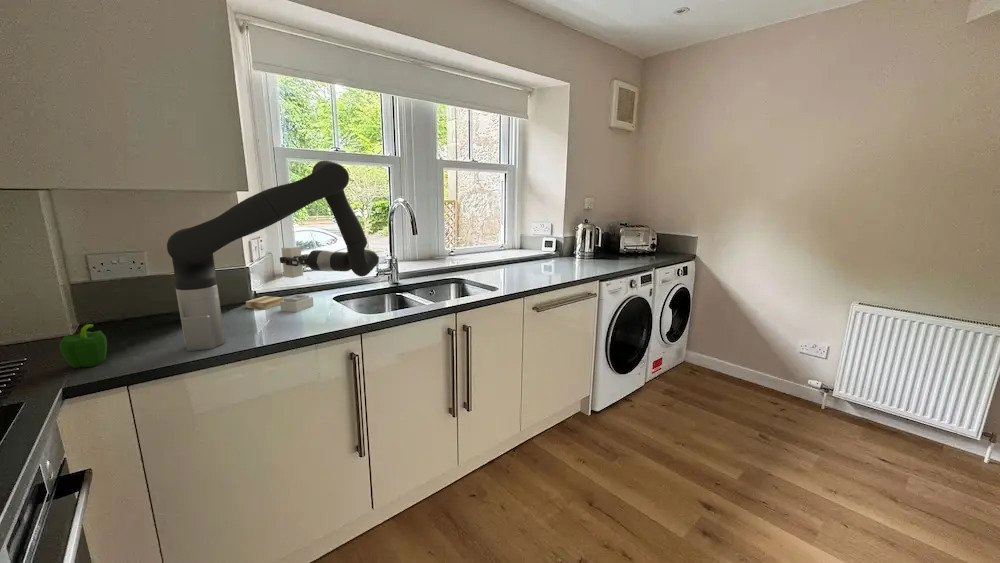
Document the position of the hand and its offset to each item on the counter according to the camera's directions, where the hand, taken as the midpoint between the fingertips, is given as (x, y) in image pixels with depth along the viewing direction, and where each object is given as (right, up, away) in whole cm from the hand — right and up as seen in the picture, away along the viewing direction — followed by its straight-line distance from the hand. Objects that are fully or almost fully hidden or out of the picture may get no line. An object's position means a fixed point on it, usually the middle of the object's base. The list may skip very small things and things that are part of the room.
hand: (286, 258), depth 148 cm
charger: (+2, -7, +1) cm, 7 cm away
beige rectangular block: (+3, -19, +3) cm, 19 cm away
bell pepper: (-24, -30, -48) cm, 61 cm away
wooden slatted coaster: (-12, -18, +7) cm, 23 cm away
